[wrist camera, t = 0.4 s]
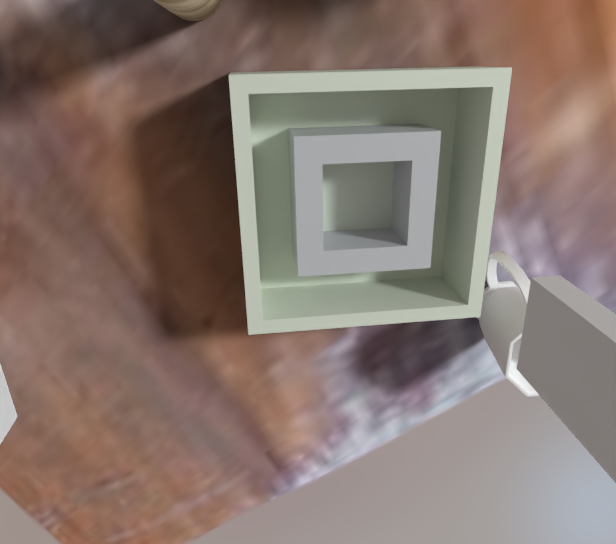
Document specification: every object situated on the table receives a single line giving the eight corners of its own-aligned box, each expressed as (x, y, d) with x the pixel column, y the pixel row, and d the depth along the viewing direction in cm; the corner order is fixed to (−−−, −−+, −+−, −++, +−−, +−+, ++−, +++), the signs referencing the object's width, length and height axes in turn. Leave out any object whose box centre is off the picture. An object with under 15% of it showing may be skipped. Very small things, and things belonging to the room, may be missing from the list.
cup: (471, 353, 43) (517, 413, 36) (436, 256, 39) (480, 301, 32) (547, 320, 43) (610, 374, 36) (519, 218, 39) (584, 255, 32)
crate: (230, 72, 32) (228, 74, 27) (468, 66, 34) (512, 67, 29) (247, 296, 39) (248, 334, 33) (448, 281, 40) (480, 316, 35)
